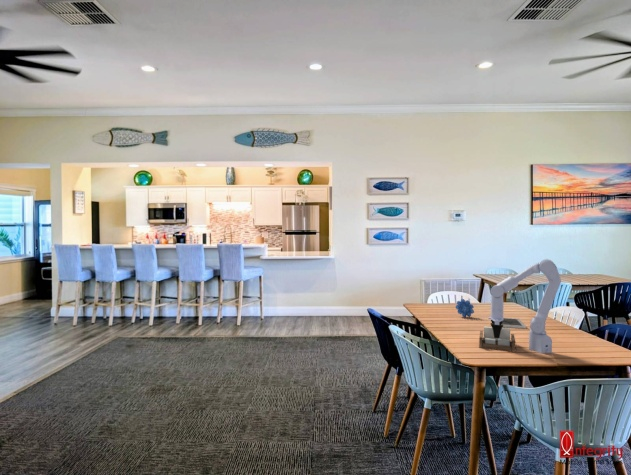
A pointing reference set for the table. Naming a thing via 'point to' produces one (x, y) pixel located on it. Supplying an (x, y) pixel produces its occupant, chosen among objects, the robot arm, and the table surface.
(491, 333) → the cream rectangular slab
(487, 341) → the offcut
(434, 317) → the table surface
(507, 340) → the offcut
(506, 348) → the rack
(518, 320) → the square clock
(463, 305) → the blue flower
